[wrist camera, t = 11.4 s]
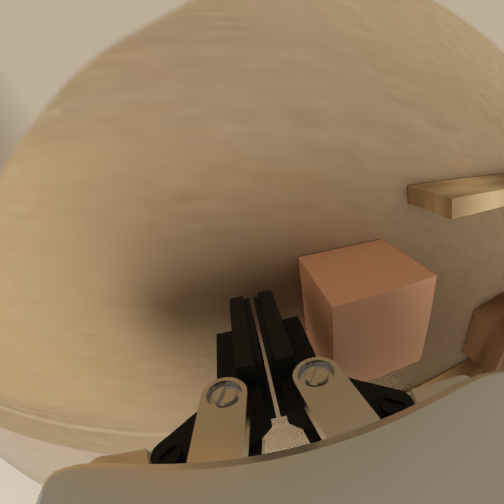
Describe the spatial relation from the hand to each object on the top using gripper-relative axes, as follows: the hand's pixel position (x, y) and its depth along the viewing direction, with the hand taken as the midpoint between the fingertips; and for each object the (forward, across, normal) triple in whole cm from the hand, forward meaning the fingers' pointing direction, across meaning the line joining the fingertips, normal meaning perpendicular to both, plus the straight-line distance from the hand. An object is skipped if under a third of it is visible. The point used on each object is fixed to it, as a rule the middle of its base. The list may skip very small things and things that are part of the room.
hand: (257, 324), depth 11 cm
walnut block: (+1, -17, +7) cm, 18 cm away
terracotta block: (+1, -4, 0) cm, 4 cm away
